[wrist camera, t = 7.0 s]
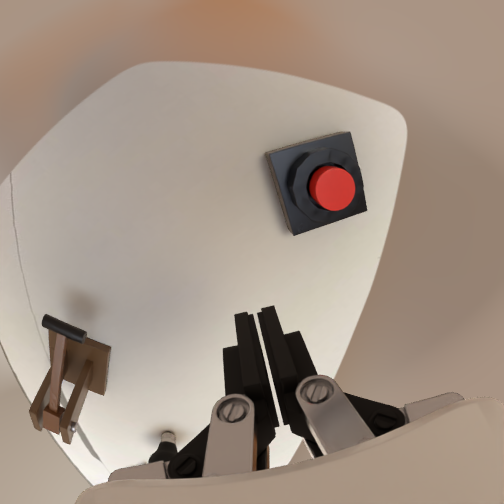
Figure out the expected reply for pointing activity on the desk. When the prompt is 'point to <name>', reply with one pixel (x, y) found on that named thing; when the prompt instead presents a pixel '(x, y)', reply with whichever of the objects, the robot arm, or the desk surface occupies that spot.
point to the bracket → (74, 381)
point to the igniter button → (332, 187)
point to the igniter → (300, 172)
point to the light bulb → (165, 449)
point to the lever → (58, 369)
